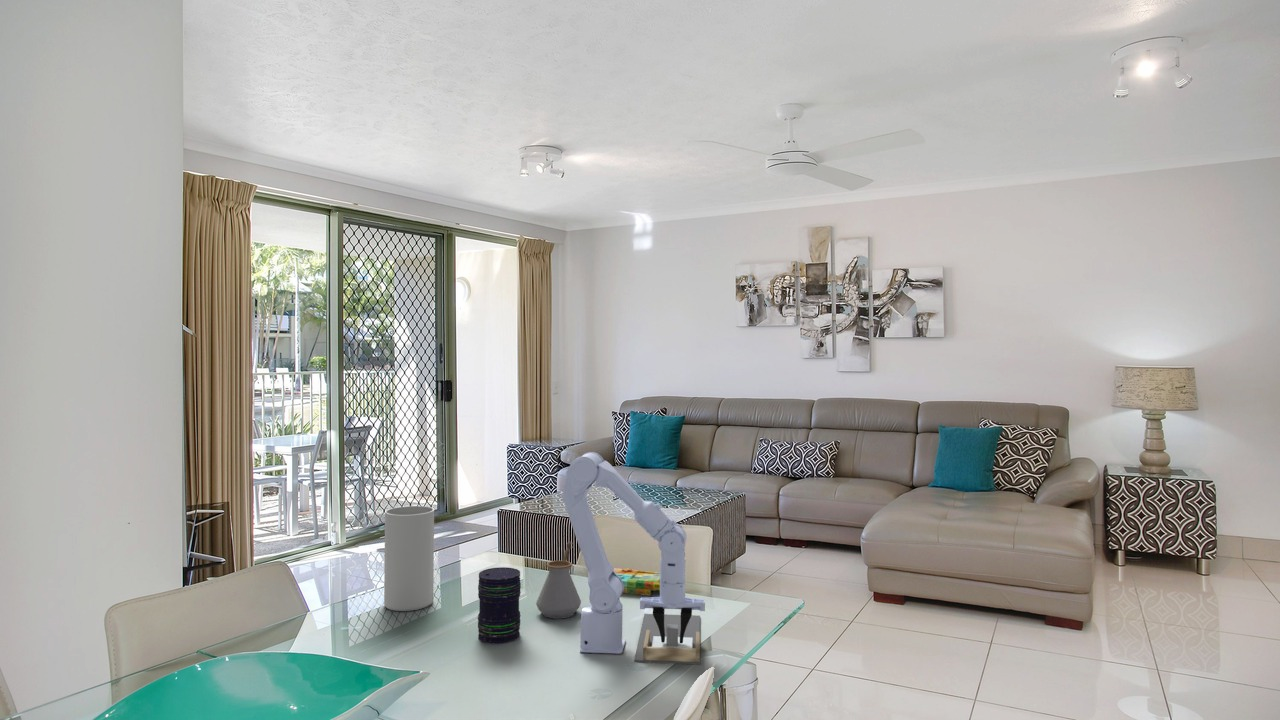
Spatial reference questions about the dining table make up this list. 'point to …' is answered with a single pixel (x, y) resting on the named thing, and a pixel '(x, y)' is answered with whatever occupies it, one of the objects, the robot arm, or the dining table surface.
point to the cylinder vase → (409, 558)
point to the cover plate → (681, 645)
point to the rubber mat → (651, 625)
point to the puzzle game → (639, 581)
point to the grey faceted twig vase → (559, 590)
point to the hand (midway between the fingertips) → (672, 641)
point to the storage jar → (499, 605)
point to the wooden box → (671, 651)
